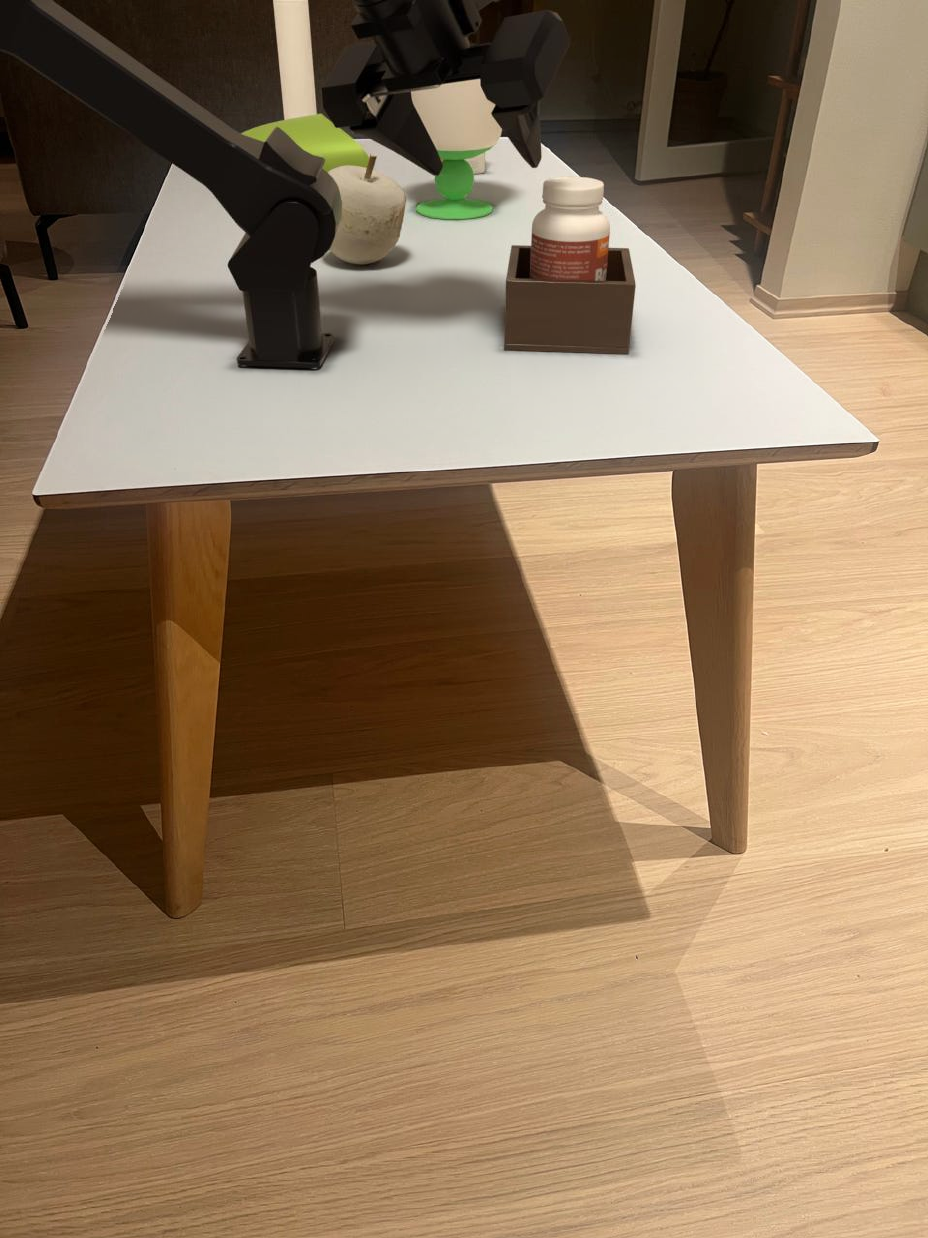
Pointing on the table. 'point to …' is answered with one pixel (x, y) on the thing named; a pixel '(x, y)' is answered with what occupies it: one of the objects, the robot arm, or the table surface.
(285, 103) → the candle
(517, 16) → the robot arm
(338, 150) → the green curved piece
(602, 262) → the pill bottle
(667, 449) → the table surface
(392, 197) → the decorative object
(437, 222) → the table surface
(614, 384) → the table surface
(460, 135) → the cup
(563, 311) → the brown rectangular open box
